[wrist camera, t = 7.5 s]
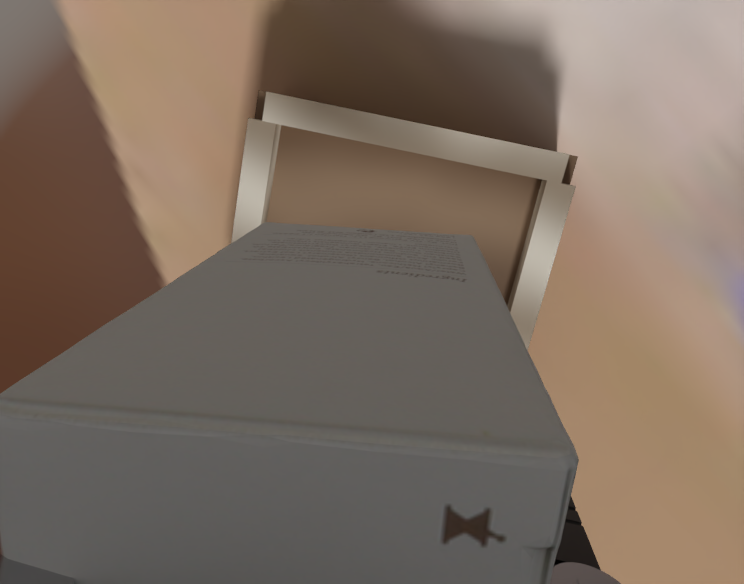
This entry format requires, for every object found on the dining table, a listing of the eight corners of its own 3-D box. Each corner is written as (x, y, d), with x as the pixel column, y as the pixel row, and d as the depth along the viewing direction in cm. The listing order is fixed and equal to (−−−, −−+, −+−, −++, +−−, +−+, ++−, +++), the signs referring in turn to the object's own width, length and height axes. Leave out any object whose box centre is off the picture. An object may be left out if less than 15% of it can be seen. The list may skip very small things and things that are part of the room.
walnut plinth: (280, 96, 29) (252, 88, 24) (556, 153, 29) (584, 157, 24) (241, 353, 33) (211, 390, 28) (486, 406, 33) (497, 454, 28)
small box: (263, 217, 15) (-47, 385, 5) (479, 231, 15) (594, 442, 5) (262, 484, 17) (42, 969, 7) (451, 503, 17) (490, 1041, 7)
